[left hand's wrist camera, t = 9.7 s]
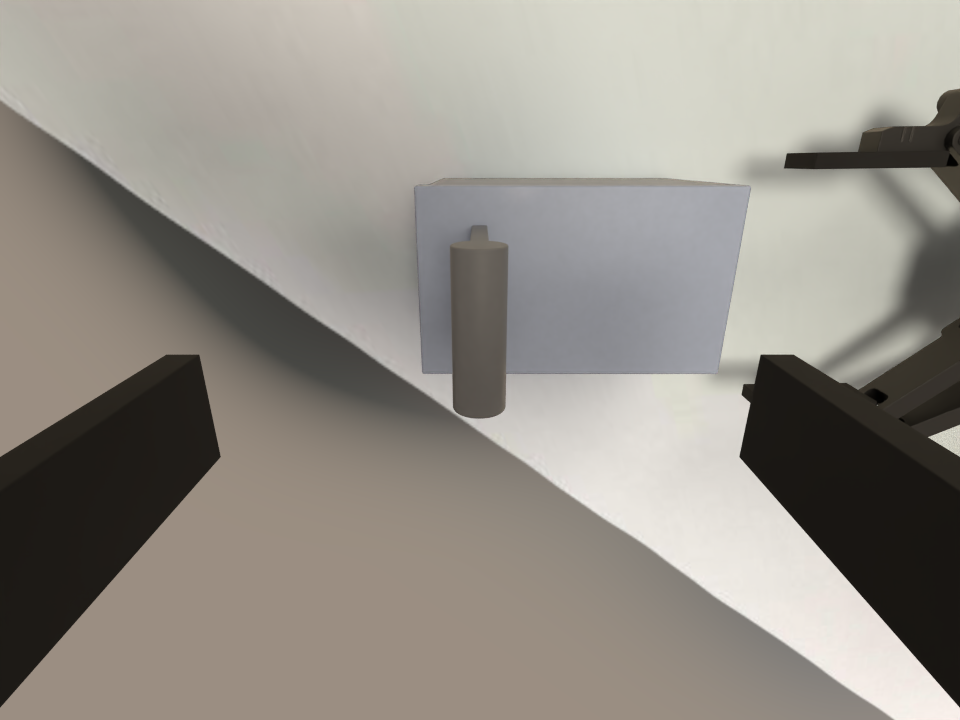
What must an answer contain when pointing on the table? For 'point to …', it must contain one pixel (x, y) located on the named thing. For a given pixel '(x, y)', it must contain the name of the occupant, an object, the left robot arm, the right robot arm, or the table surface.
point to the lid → (573, 281)
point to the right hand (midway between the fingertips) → (773, 289)
